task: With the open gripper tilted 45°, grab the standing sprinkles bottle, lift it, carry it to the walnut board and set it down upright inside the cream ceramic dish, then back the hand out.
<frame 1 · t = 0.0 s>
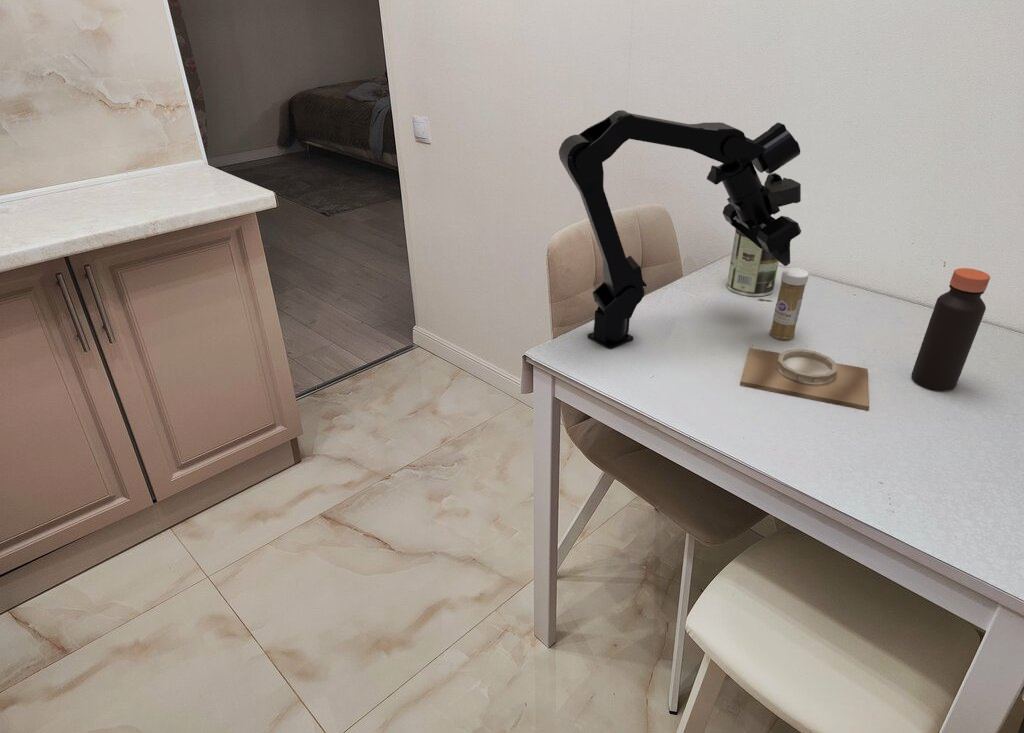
hand: (775, 255, 126), 15 cm above the table, tool tilted 35°, fingers open, 9 cm apart
coffee can: (749, 288, 150), on the table
dish board: (804, 374, 117), on the table
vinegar: (932, 382, 115), on the table
sprinkles bottle: (781, 336, 130), on the table
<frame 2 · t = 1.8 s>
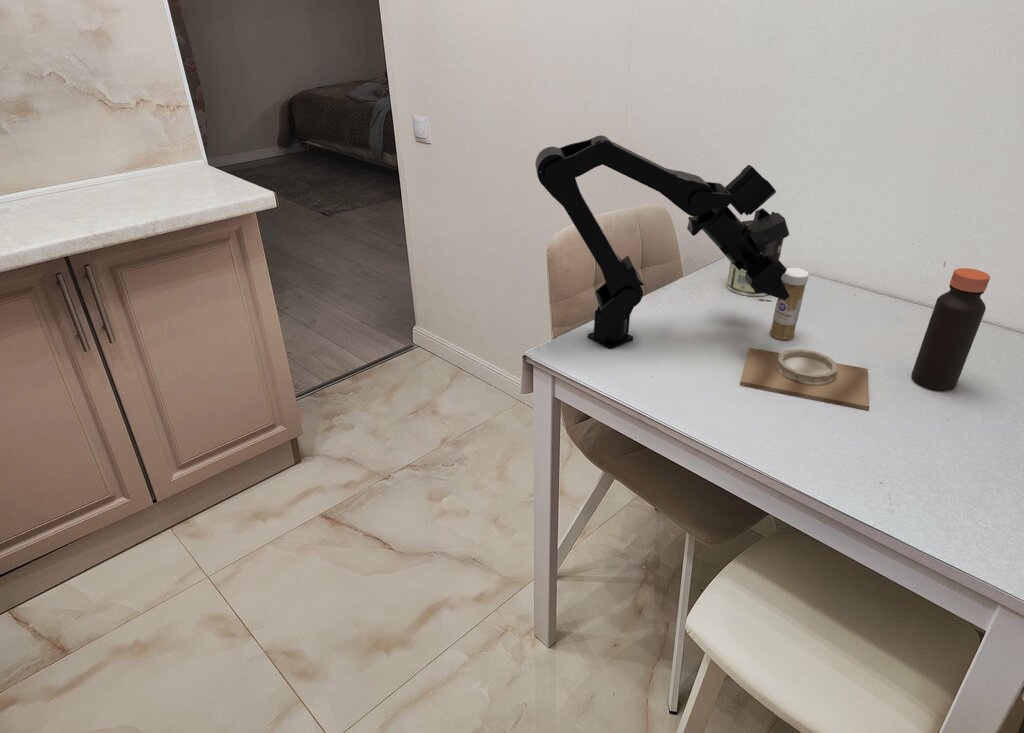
hand: (777, 287, 125), 10 cm above the table, tool tilted 45°, fingers open, 9 cm apart
nothing on the table moved.
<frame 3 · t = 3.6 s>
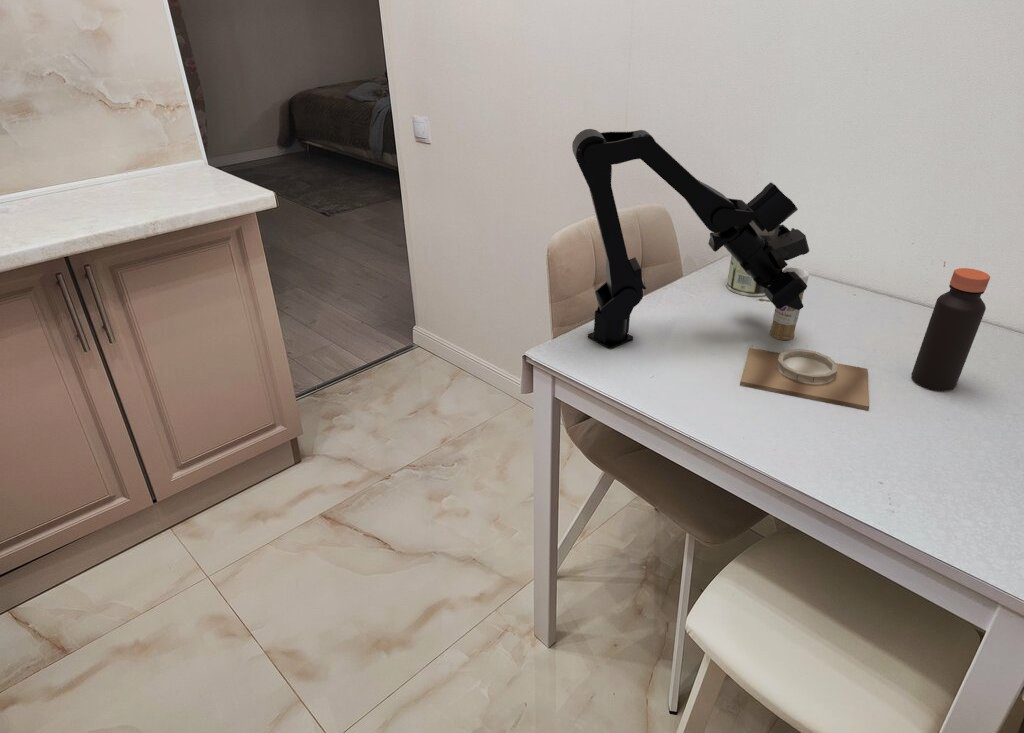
hand: (796, 302, 126), 7 cm above the table, tool tilted 45°, fingers closed on sprinkles bottle, 4 cm apart
sprinkles bottle: (781, 336, 130), on the table, touching gripper
everything else where it was.
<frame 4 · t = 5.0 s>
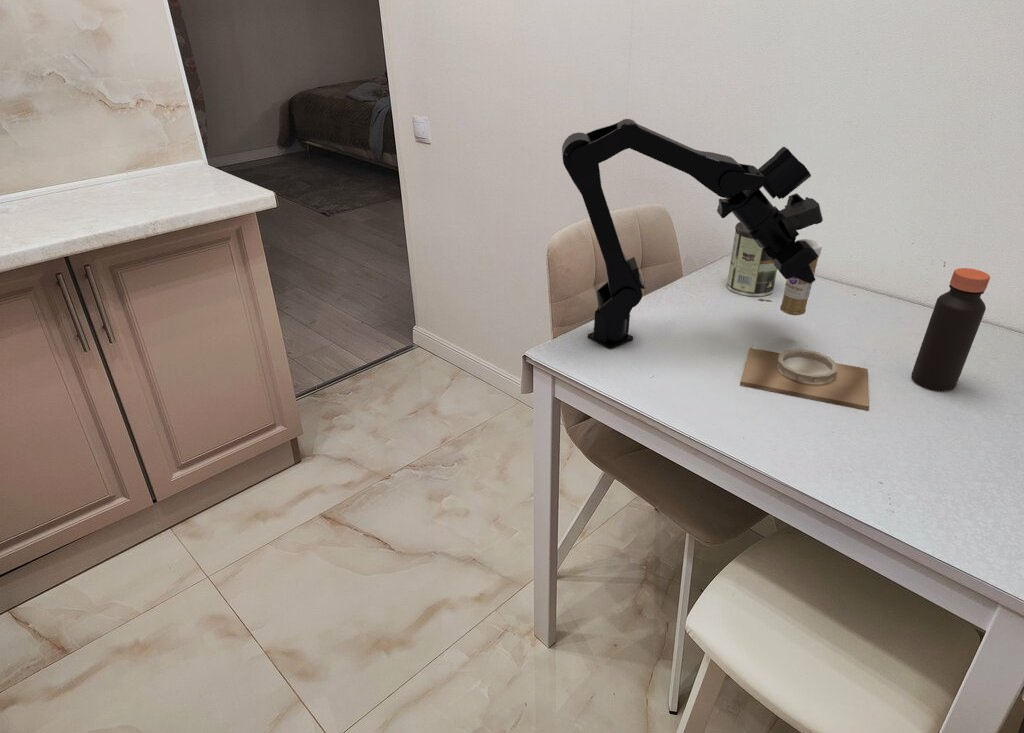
hand: (808, 276, 121), 13 cm above the table, tool tilted 45°, fingers closed on sprinkles bottle, 4 cm apart
sprinkles bottle: (792, 312, 125), point 6 cm above the table, touching gripper
everything else where it was.
when the fingers open (9 cm above the table, at t = 6.9 s): sprinkles bottle drops 1 cm, resting on dish board.
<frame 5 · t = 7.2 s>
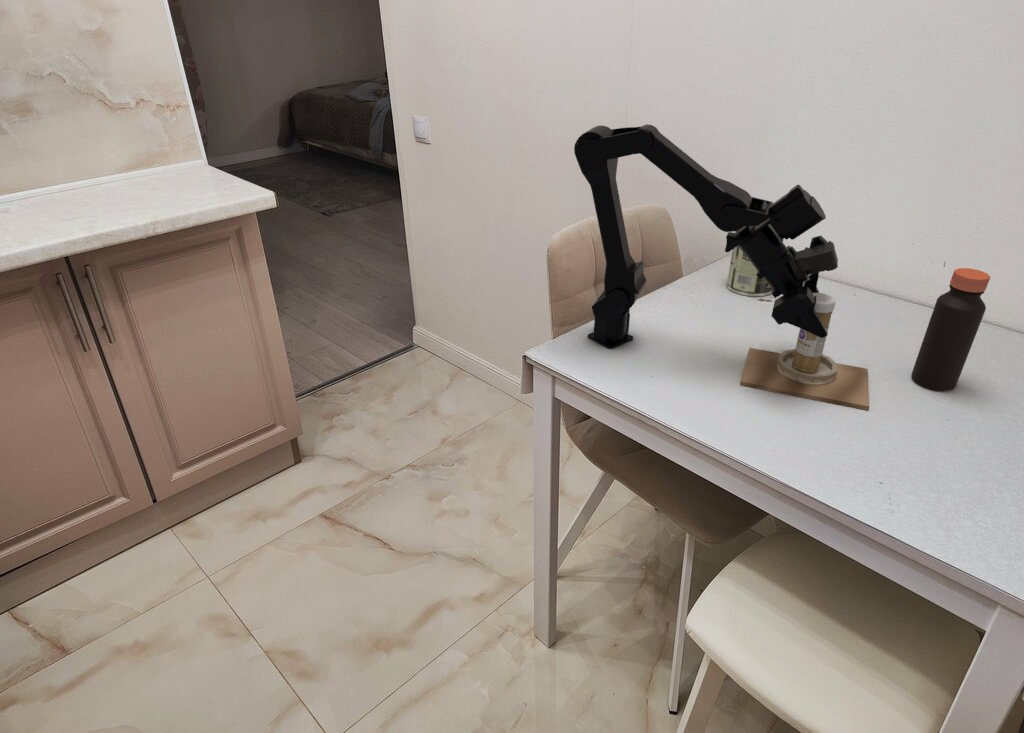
hand: (825, 326, 112), 10 cm above the table, tool tilted 45°, fingers open, 7 cm apart
sprinkles bottle: (804, 368, 116), point 1 cm above the table, touching dish board
everything else where it was.
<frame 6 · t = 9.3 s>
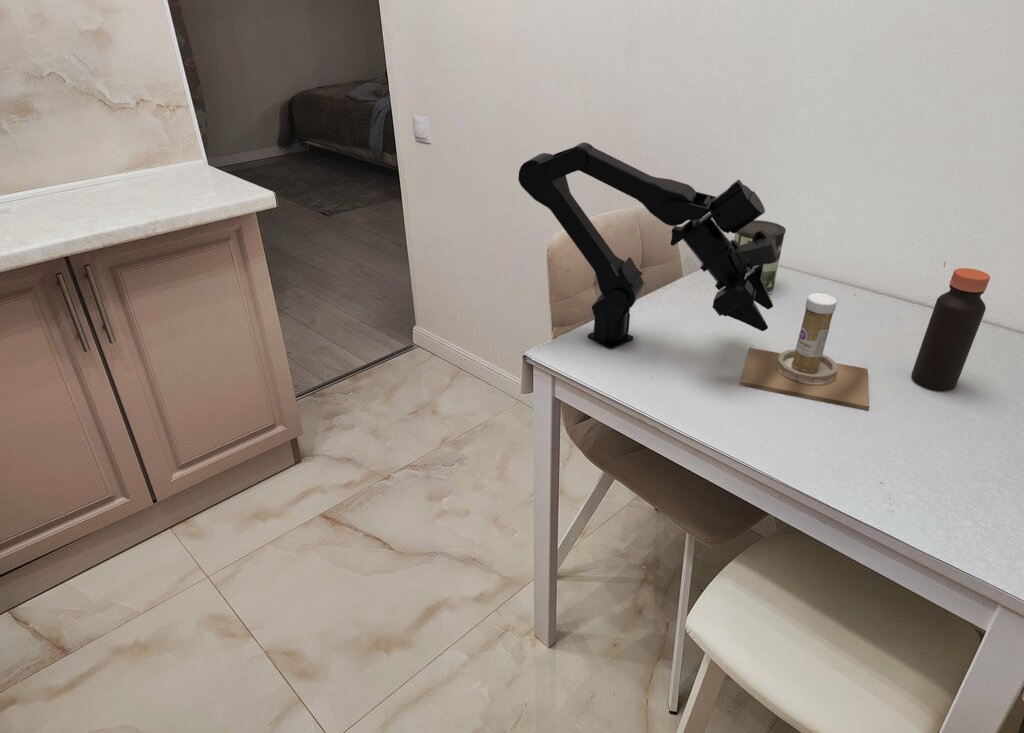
hand: (768, 318, 115), 10 cm above the table, tool tilted 45°, fingers open, 9 cm apart
nothing on the table moved.
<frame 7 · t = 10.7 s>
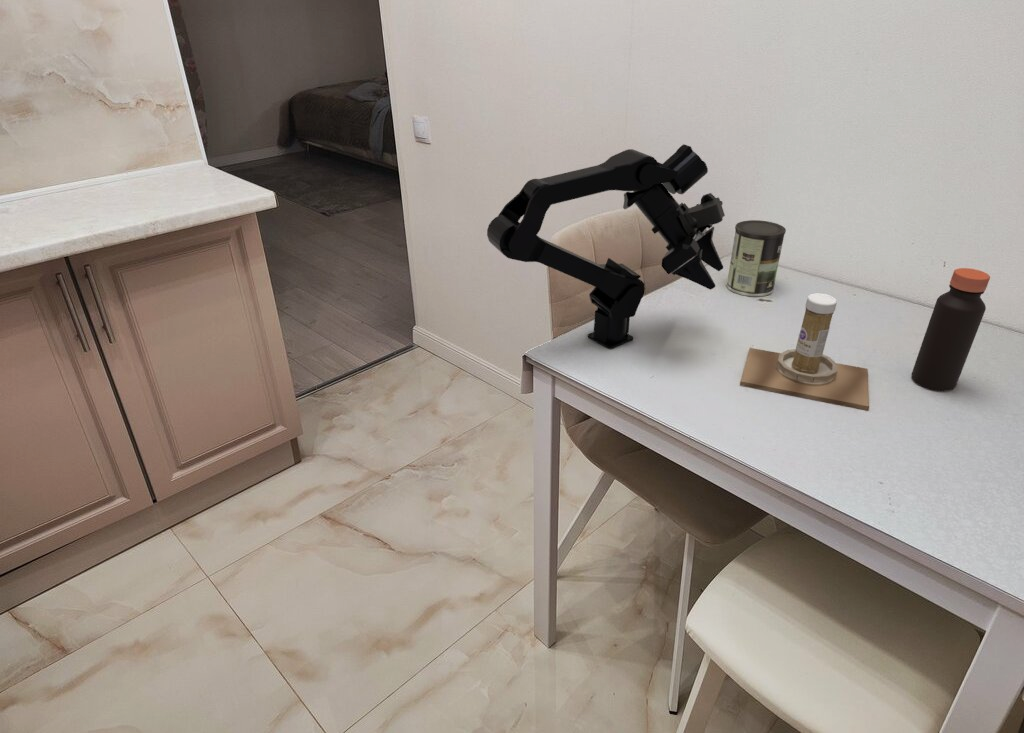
hand: (717, 278, 120), 14 cm above the table, tool tilted 45°, fingers open, 9 cm apart
nothing on the table moved.
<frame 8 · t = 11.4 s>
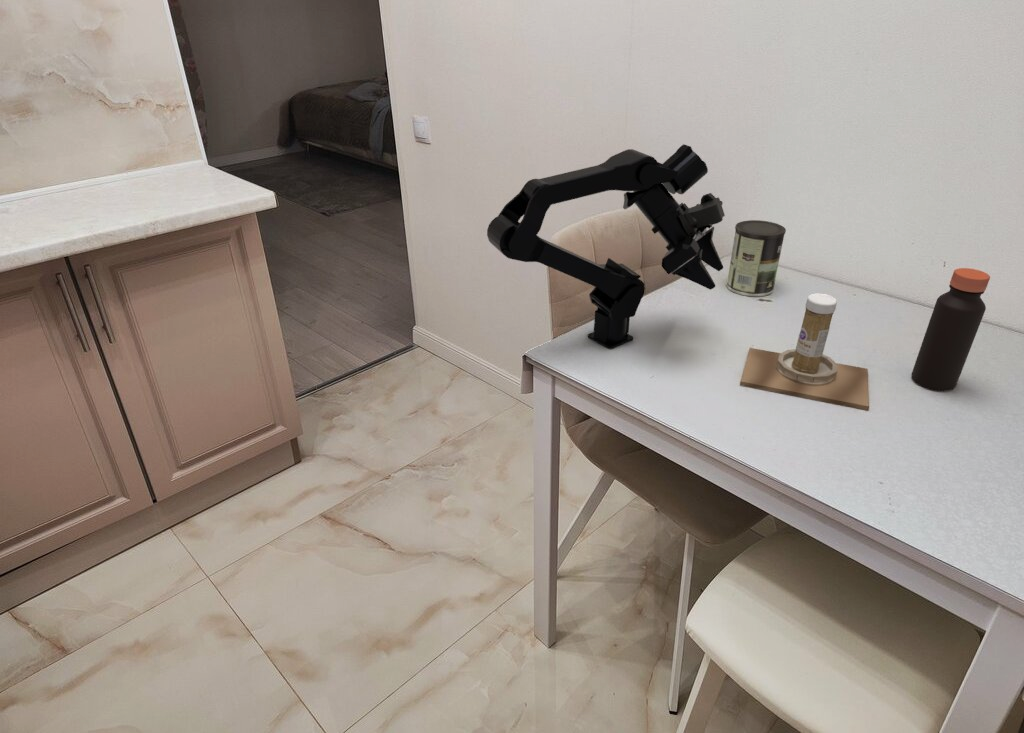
hand: (717, 278, 120), 14 cm above the table, tool tilted 45°, fingers open, 9 cm apart
nothing on the table moved.
at the end: sprinkles bottle 0.2 cm off-centre on the dish board, point 1.1 cm above the dish board's base; sprinkles bottle tilted 0°; the gripper is holding nothing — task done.
